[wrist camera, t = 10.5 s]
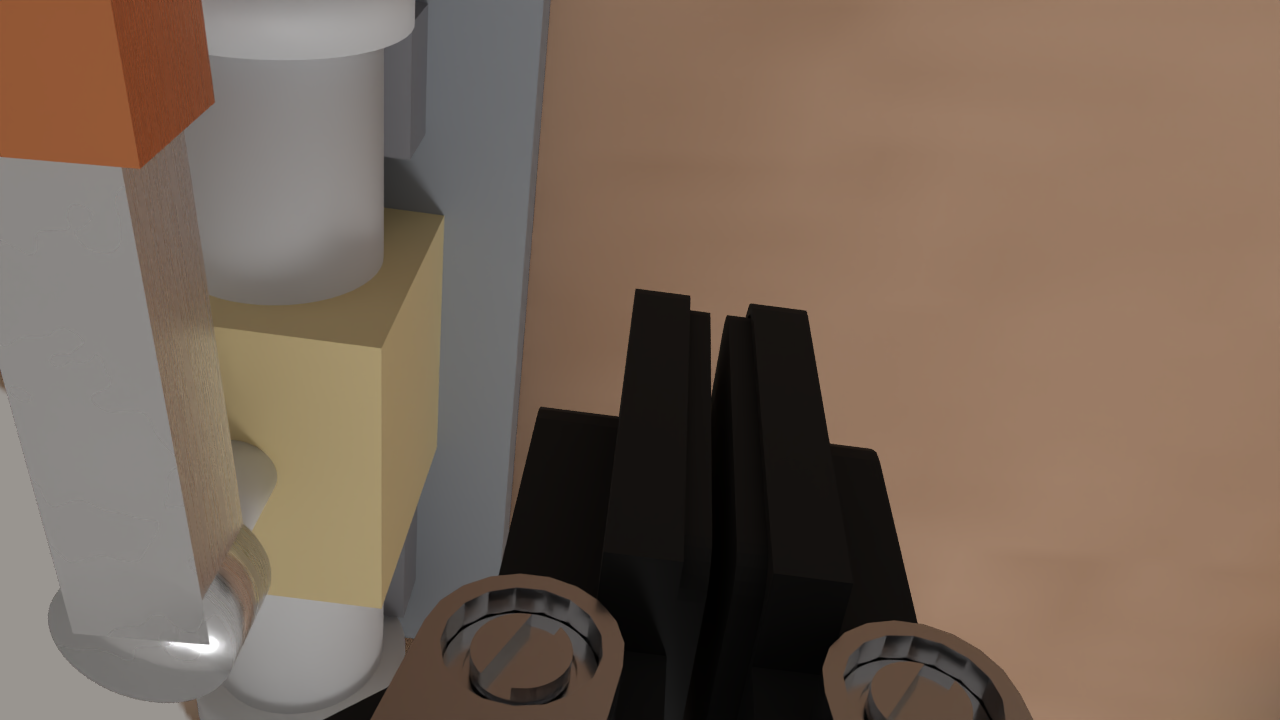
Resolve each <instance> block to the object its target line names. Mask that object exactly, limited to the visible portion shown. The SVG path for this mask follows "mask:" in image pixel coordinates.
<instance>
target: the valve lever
mask: <svg viewBox="0 0 1280 720" xmlns="http://www.w3.org/2000/svg"><path fill="white" fill-rule="evenodd" d="M214 103H215V98H214V90H213V83H212V75H211V68H210V60H209V53H208V45H207V38H206V31H205V23H204V16H203V8H202V1H201V0H0V370H1V374H2V377H3V381H4V385H5V388H6V392H7V395H8V399H9V402H10V406H11V410H12V413H13V417H14V421H15V425H16V428H17V431H18V435H19V439H20V443H21V446H22V450H23V454H24V457H25V460H26V465H27V468H28V472H29V475H30V479H31V483H32V486H33V490H34V493H35V497H36V501H37V504H38V508H39V511H40V515H41V519H42V523H43V526H44V530H45V533H46V537H47V541H48V544H49V548H50V552H51V555H52V559H53V563H54V566H55V570H56V574H57V577H58V581H59V584H60V589H59V590H58V592H57V593H56V595H55V596H54V598H53V600H52V602H51V604H50V608H49V613H48V623H49V628H50V632H51V635H52V638H53V640H54V642H55V644H56V646H57V647H58V649H59V651H60V652H61V653H62V654H63V656H64V657H65V658H66V659H67V660H68V661H69V663H70V664H71V665H72V666H73V667H75V668H76V669H77V670H78V671H79V672H80V673H82V674H83V675H84V676H86V677H87V678H89V679H90V680H92V681H94V682H95V683H97V684H98V685H100V686H102V687H104V688H107V689H109V690H110V691H113V692H116V693H118V694H121V695H124V696H127V697H130V698H134V699H138V700H143V701H149V702H159V703H174V702H184V701H190V700H193V699H197V698H200V697H202V696H205V695H207V694H209V693H211V692H212V691H214V690H215V689H217V688H218V687H219V686H220V685H221V684H222V683H223V682H224V681H225V680H226V679H227V677H228V675H229V673H230V672H231V669H232V667H233V665H234V663H235V661H236V659H237V657H238V655H239V653H240V650H241V648H242V646H243V644H244V642H245V640H246V638H247V636H248V633H249V631H250V629H251V627H252V625H253V623H254V621H255V619H256V616H257V614H258V612H259V610H260V608H261V606H262V604H263V602H264V600H265V597H266V595H267V593H268V591H269V588H270V585H271V577H272V576H271V566H270V561H269V558H268V556H267V553H266V551H265V549H264V548H263V546H262V544H261V543H260V541H259V540H258V538H257V537H256V536H255V535H254V534H253V533H252V531H251V530H250V529H249V528H248V527H247V526H245V525H244V524H243V517H242V510H241V504H240V497H239V491H238V484H237V477H236V471H235V464H234V458H233V451H232V444H231V438H230V431H229V425H228V418H227V411H226V405H225V398H224V392H223V385H222V378H221V372H220V365H219V359H218V352H217V345H216V339H215V332H214V326H213V319H212V312H211V306H210V299H209V293H208V286H207V279H206V273H205V266H204V260H203V253H202V246H201V240H200V233H199V227H198V220H197V213H196V207H195V200H194V194H193V187H192V180H191V174H190V167H189V161H188V154H187V147H186V141H185V134H184V130H185V129H186V128H187V127H188V126H189V125H190V124H191V123H192V122H194V121H195V120H196V119H197V118H198V117H199V116H200V115H201V114H203V113H204V112H205V111H206V110H207V109H208V108H209V107H210V106H212V105H213V104H214Z"/></svg>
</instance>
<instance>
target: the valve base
mask: <svg viewBox="0 0 1280 720" xmlns="http://www.w3.org/2000/svg"><path fill="white" fill-rule="evenodd" d="M201 1H202V8H203V16H204V23H205V31H206V38H207V45H208V53H209V60H210V68H211V75H212V83H213V90H214V98H215V103H214V104H213V105H212V106H210V107H209V108H208V109H207V110H206V111H205V112H204V113H203V114H201V115H200V116H199V117H198V118H197V119H196V120H195V121H194V122H192V123H191V124H190V125H189V126H188V127H187V128H186V129H185V130H184V134H185V141H186V147H187V154H188V161H189V167H190V174H191V180H192V187H193V194H194V200H195V207H196V213H197V220H198V227H199V233H200V240H201V246H202V253H203V260H204V266H205V273H206V279H207V286H208V293H209V299H210V306H211V312H212V319H213V326H214V332H215V339H216V345H217V352H218V359H219V365H220V372H221V378H222V385H223V392H224V398H225V405H226V411H227V418H228V425H229V431H230V438H231V444H232V451H233V458H234V464H235V471H236V477H237V484H238V491H239V497H240V504H241V510H242V517H243V524H244V525H245V526H247V527H248V528H249V529H250V530H251V531H252V533H253V534H254V535H255V536H256V537H257V538H258V540H259V541H260V543H261V544H262V546H263V548H264V549H265V551H266V553H267V556H268V558H269V561H270V566H271V576H272V577H271V585H270V588H269V591H268V593H267V595H266V597H265V600H264V602H263V604H262V606H261V608H260V610H259V612H258V614H257V616H256V619H255V621H254V623H253V625H252V627H251V629H250V631H249V633H248V636H247V638H246V640H245V642H244V644H243V646H242V648H241V650H240V653H239V655H238V657H237V659H236V661H235V663H234V665H233V667H232V669H231V672H230V673H229V675H228V677H227V679H226V680H225V681H224V682H223V683H222V684H221V685H220V686H219V687H218V688H217V689H215V690H214V691H212V692H211V693H209V694H207V695H205V696H202V697H200V698H197V705H198V712H199V718H200V720H323V719H325V718H327V717H329V716H331V715H333V714H335V713H337V712H339V711H341V710H343V709H345V708H347V707H349V706H351V705H353V704H355V703H357V702H359V701H361V700H363V699H365V698H367V697H369V696H371V695H373V694H375V693H377V692H379V691H381V690H383V689H385V688H387V687H388V686H389V684H390V682H391V681H392V679H393V677H394V675H395V673H396V671H397V670H398V668H399V666H400V664H401V662H402V660H403V658H404V657H405V638H413V639H414V638H415V636H416V634H417V633H418V631H419V629H420V627H421V625H422V623H423V621H424V620H425V618H426V617H427V616H428V615H429V614H430V612H431V611H432V610H433V609H434V607H435V606H436V605H437V604H438V602H439V601H440V600H441V599H443V598H444V597H446V596H447V595H449V594H451V593H452V592H454V591H455V590H457V589H458V588H460V587H461V586H463V585H466V584H469V583H472V582H475V581H478V580H481V579H484V578H487V577H490V576H498V575H499V571H500V567H501V563H502V559H503V555H504V550H505V546H506V542H507V538H508V534H509V522H510V509H511V496H512V484H513V471H514V458H515V445H516V433H517V420H518V407H519V395H520V382H521V369H522V356H523V344H524V331H525V318H526V306H527V293H528V280H529V267H530V255H531V242H532V229H533V217H534V204H535V191H536V178H537V166H538V153H539V140H540V128H541V115H542V102H543V89H544V77H545V64H546V51H547V39H548V26H549V13H550V0H201Z"/></svg>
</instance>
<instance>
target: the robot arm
mask: <svg viewBox="0 0 1280 720" xmlns="http://www.w3.org/2000/svg"><path fill="white" fill-rule="evenodd" d="M323 720H1033V718H1032V716H1031V714H1030V712H1029V710H1028V708H1027V706H1026V704H1025V702H1024V700H1023V698H1022V696H1021V695H1020V693H1019V692H1018V690H1017V689H1016V687H1015V686H1014V684H1013V683H1012V682H1011V680H1010V679H1009V677H1008V676H1007V674H1006V673H1005V672H1004V670H1003V669H1001V668H1000V667H999V666H998V665H997V664H996V663H995V662H994V661H992V660H991V659H990V658H989V657H988V656H987V655H986V654H984V653H983V652H982V651H981V650H979V649H978V648H976V647H974V646H972V645H971V644H969V643H967V642H966V641H964V640H962V639H960V638H959V637H957V636H955V635H953V634H951V633H948V632H945V631H942V630H939V629H936V628H933V627H930V626H927V625H924V624H918V623H917V619H916V614H915V610H914V606H913V601H912V597H911V593H910V589H909V584H908V580H907V576H906V572H905V567H904V563H903V559H902V555H901V550H900V546H899V542H898V537H897V533H896V529H895V525H894V520H893V516H892V512H891V508H890V503H889V499H888V495H887V491H886V486H885V482H884V478H883V474H882V469H881V465H880V461H879V458H878V456H877V453H876V452H875V451H874V450H872V449H868V448H860V447H852V446H844V445H836V444H830V443H829V437H828V431H827V425H826V419H825V413H824V408H823V402H822V396H821V390H820V384H819V378H818V373H817V367H816V361H815V355H814V349H813V343H812V337H811V332H810V326H809V320H808V315H807V312H806V311H804V310H796V309H789V308H781V307H773V306H765V305H758V304H750V305H749V308H748V311H747V314H746V318H745V317H737V316H729V315H727V317H726V320H725V324H724V328H723V334H722V339H721V345H720V351H719V356H718V362H717V367H716V373H715V379H714V384H713V390H712V396H711V329H710V313H706V312H698V311H691V310H690V296H688V295H681V294H673V293H665V292H657V291H650V290H642V289H636V290H635V297H634V305H633V312H632V320H631V328H630V335H629V343H628V351H627V358H626V366H625V374H624V381H623V389H622V397H621V405H620V412H619V417H617V416H609V415H601V414H593V413H586V412H578V411H570V410H562V409H554V408H547V407H540V409H539V411H538V415H537V418H536V422H535V427H534V431H533V435H532V439H531V443H530V447H529V451H528V455H527V460H526V464H525V468H524V472H523V476H522V480H521V484H520V488H519V493H518V497H517V501H516V505H515V509H514V513H513V517H512V522H511V526H510V530H509V534H508V538H507V542H506V546H505V550H504V555H503V559H502V563H501V567H500V571H499V575H498V576H490V577H487V578H484V579H481V580H478V581H475V582H472V583H469V584H466V585H463V586H461V587H460V588H458V589H457V590H455V591H454V592H452V593H451V594H449V595H447V596H446V597H444V598H443V599H441V600H440V601H439V602H438V604H437V605H436V606H435V607H434V609H433V610H432V611H431V612H430V614H429V615H428V616H427V617H426V618H425V620H424V621H423V623H422V625H421V627H420V629H419V631H418V633H417V634H416V636H415V638H414V640H413V642H412V644H411V646H410V647H409V649H408V651H407V653H406V655H405V657H404V658H403V660H402V662H401V664H400V666H399V668H398V670H397V671H396V673H395V675H394V677H393V679H392V681H391V682H390V684H389V686H388V687H387V688H385V689H383V690H381V691H379V692H377V693H375V694H373V695H371V696H369V697H367V698H365V699H363V700H361V701H359V702H357V703H355V704H353V705H351V706H349V707H347V708H345V709H343V710H341V711H339V712H337V713H335V714H333V715H331V716H329V717H327V718H325V719H323Z"/></svg>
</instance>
